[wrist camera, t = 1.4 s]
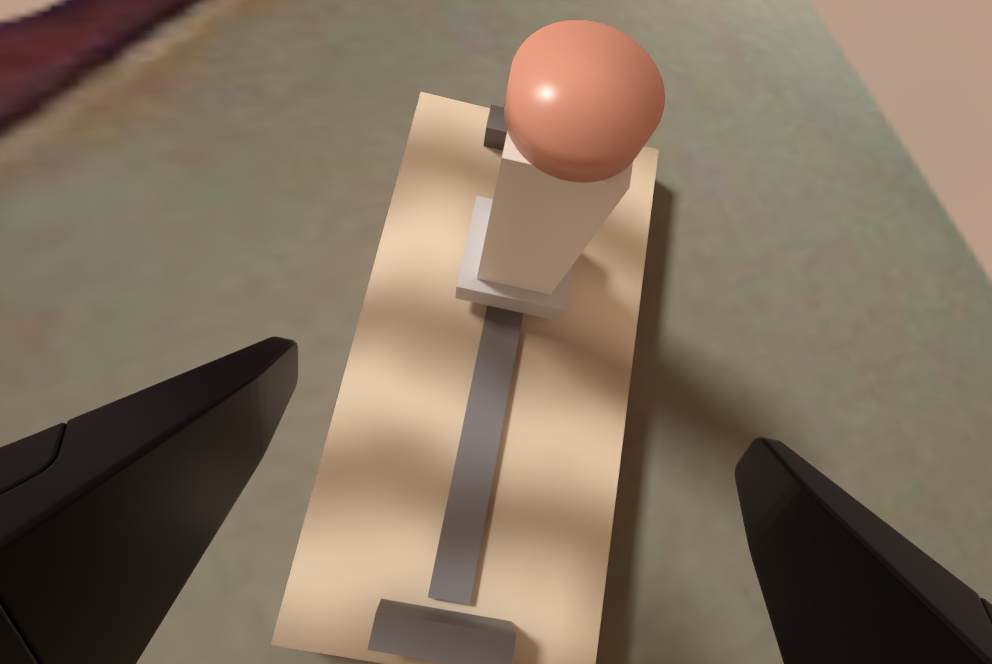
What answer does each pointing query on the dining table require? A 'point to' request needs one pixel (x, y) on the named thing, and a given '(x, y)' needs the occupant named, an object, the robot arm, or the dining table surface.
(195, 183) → the dining table surface
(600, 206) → the slider lever
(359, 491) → the slider console
